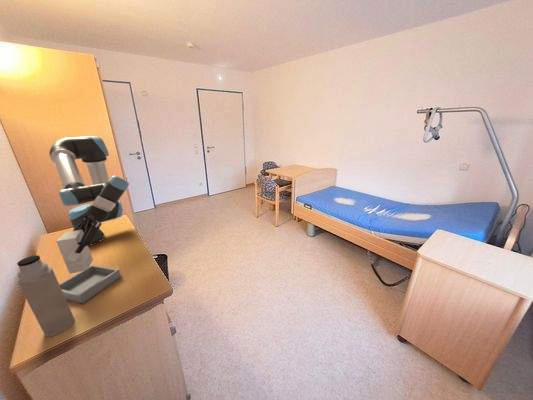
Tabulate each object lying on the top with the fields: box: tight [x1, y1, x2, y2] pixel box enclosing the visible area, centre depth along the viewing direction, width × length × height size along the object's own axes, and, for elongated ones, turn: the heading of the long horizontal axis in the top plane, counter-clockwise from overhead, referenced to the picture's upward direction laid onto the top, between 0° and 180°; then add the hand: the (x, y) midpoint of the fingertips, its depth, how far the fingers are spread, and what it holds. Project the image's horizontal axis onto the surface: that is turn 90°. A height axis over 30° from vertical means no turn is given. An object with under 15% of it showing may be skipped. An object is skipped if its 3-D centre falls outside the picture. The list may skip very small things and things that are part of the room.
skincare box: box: [56, 230, 94, 275], centre depth 89 cm, size 8×7×16 cm
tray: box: [59, 264, 122, 306], centre depth 95 cm, size 17×17×4 cm
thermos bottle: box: [16, 255, 75, 337], centre depth 71 cm, size 8×8×28 cm
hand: (67, 256), depth 87 cm, fingers closed on skincare box, 10 cm apart
